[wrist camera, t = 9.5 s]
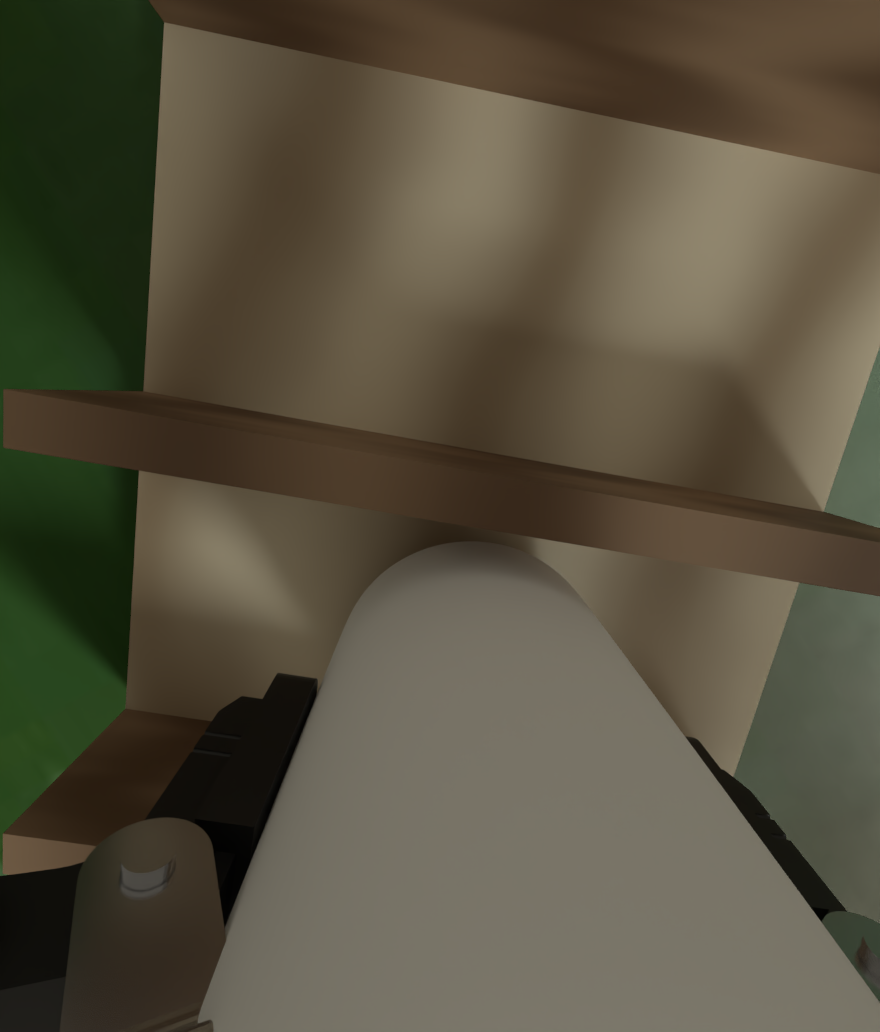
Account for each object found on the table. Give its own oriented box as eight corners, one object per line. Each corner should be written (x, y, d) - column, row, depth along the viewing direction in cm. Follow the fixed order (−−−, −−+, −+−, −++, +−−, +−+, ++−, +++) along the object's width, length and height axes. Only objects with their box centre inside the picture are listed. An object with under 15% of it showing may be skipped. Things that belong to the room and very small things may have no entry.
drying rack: (895, 165, 14) (1231, -1, 8) (693, 789, 18) (820, 979, 12) (197, 16, 13) (4, -295, 7) (150, 709, 17) (2, 873, 11)
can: (303, 581, 13) (-719, 2017, 2) (555, 500, 13) (1816, 1565, 1) (390, 796, 15) (208, 2435, 3) (621, 728, 14) (1510, 2299, 2)
